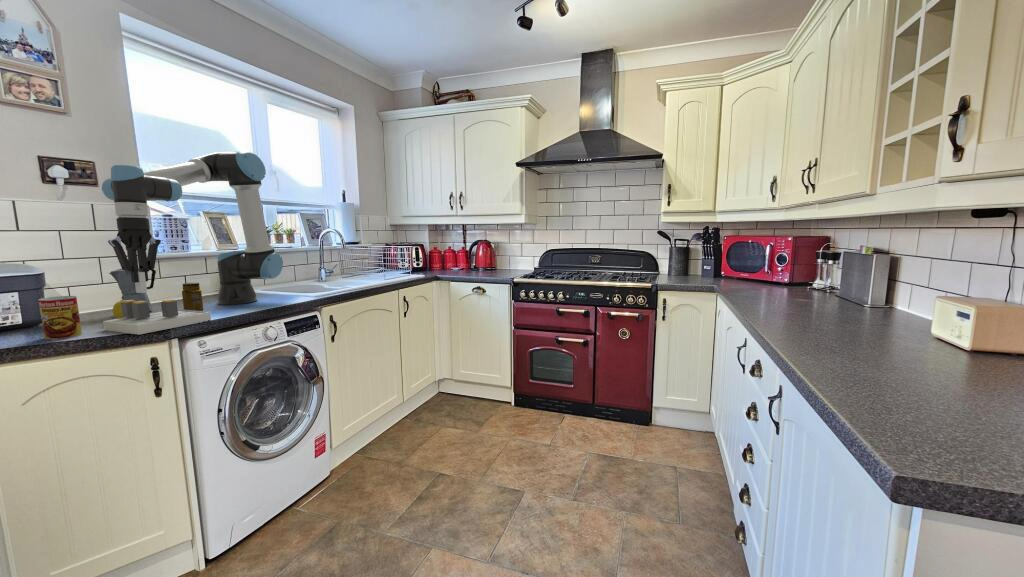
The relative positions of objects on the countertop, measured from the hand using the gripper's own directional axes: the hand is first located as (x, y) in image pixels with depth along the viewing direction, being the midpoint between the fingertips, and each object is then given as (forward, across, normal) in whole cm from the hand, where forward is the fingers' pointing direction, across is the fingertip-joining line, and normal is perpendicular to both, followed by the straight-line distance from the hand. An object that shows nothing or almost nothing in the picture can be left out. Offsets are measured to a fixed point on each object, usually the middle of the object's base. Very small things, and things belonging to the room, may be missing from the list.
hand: (141, 292), depth 132 cm
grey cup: (+9, +2, +6) cm, 11 cm away
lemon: (+13, +6, +24) cm, 28 cm away
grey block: (+9, +7, 0) cm, 12 cm away
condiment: (+13, +24, +16) cm, 32 cm away
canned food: (+13, -12, +17) cm, 25 cm away
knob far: (+9, +2, +12) cm, 15 cm away
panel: (+13, +8, +6) cm, 16 cm away
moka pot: (+13, +20, +41) cm, 47 cm away
